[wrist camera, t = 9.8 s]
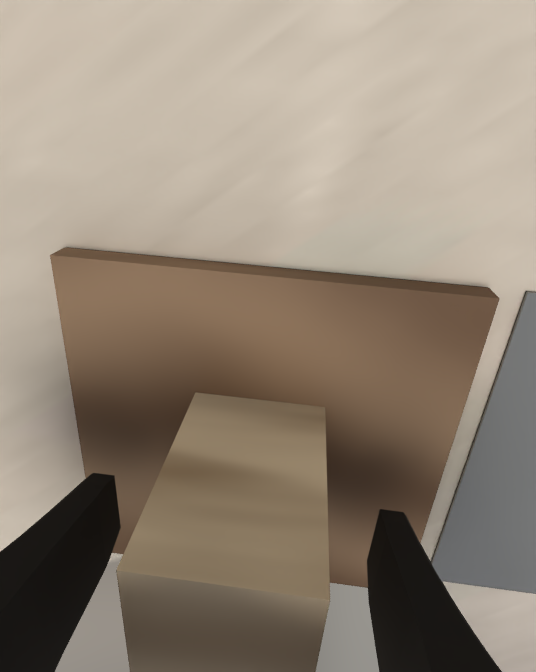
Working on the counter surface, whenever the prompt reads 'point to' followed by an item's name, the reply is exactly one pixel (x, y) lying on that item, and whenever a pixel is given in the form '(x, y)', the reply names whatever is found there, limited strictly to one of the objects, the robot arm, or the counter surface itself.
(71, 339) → the board
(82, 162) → the counter surface
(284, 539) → the maple block
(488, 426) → the tile
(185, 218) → the counter surface
